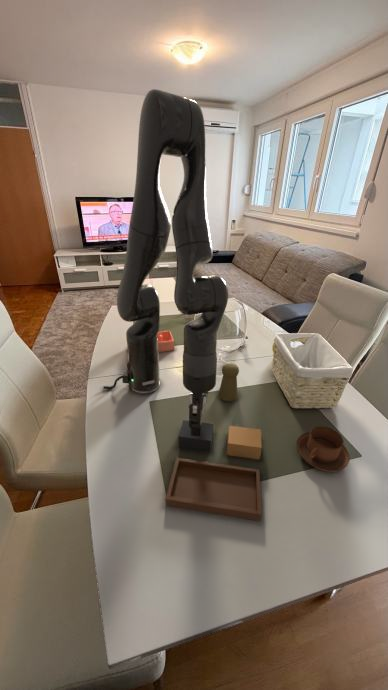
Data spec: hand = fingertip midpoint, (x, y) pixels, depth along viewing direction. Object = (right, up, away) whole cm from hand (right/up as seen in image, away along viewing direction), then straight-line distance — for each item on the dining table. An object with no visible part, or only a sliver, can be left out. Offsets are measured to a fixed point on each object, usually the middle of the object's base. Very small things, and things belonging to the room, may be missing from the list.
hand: (198, 422), depth 73 cm
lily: (-4, +34, +78) cm, 85 cm away
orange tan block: (+11, -7, +2) cm, 13 cm away
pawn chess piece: (+10, +3, +21) cm, 23 cm away
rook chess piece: (+18, +19, +51) cm, 57 cm away
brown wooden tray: (+3, -12, -9) cm, 16 cm away
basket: (+34, +5, +25) cm, 43 cm away
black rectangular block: (-1, -6, +3) cm, 7 cm away
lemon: (+32, +14, +43) cm, 55 cm away
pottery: (-19, +18, +48) cm, 54 cm away
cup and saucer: (+30, -8, 0) cm, 31 cm away
